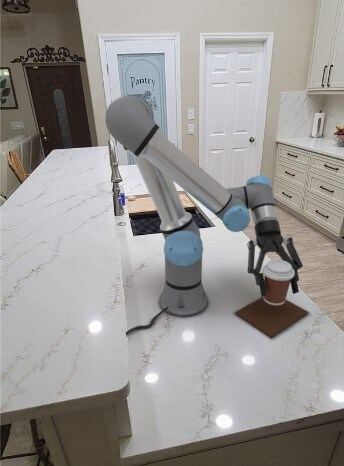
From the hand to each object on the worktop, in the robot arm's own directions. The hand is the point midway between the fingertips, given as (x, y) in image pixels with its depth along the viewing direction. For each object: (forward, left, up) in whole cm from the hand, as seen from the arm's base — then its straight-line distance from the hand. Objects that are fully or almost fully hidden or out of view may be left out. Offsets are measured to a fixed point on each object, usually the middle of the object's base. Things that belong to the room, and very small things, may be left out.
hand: (280, 294), depth 96 cm
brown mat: (+1, +3, -10) cm, 10 cm away
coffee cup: (+2, +3, -4) cm, 5 cm away
